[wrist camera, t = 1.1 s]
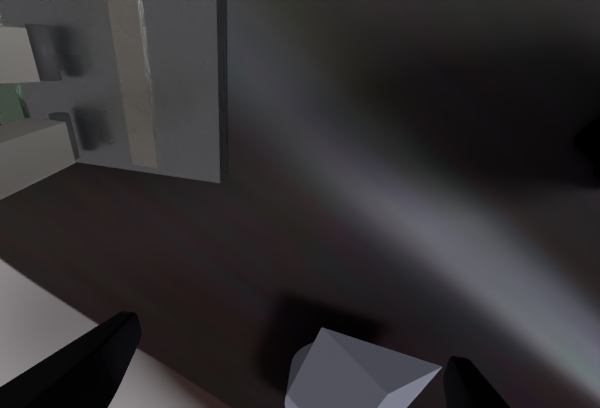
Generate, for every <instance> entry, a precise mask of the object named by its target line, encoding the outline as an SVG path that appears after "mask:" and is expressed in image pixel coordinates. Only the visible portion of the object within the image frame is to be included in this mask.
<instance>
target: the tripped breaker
mask: <svg viewBox="0 0 600 408" xmlns="http://www.w3.org/2000/svg"><path fill="white" fill-rule="evenodd" d="M48 116H49V120H48V119H41V118H33V117H30V118H26V119H23V120H19V121H15V122H12V123H8V124H5V125H1V126H0V200H1V199H3V198H5V197H7V196H9V195H11V194H13V193H15V192H17V191H19V190H21V189H24V188H26V187H28V186H30V185H32V184H34V183H36V182H38V181H40V180H42V179H44V178H46V177H48V176H50V175H52V174H54V173H56V172H58V171H60V170H62V169H64V168H66V167H68V166H71V165H73V164H75V160H76V159H78V158H79V157H80V156H79V151H78V147H77V143H76V139H75V135H74V130H73V126H72V122H71V118H70V114H69V113H66V112H55V113H50V114H48Z"/></svg>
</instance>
